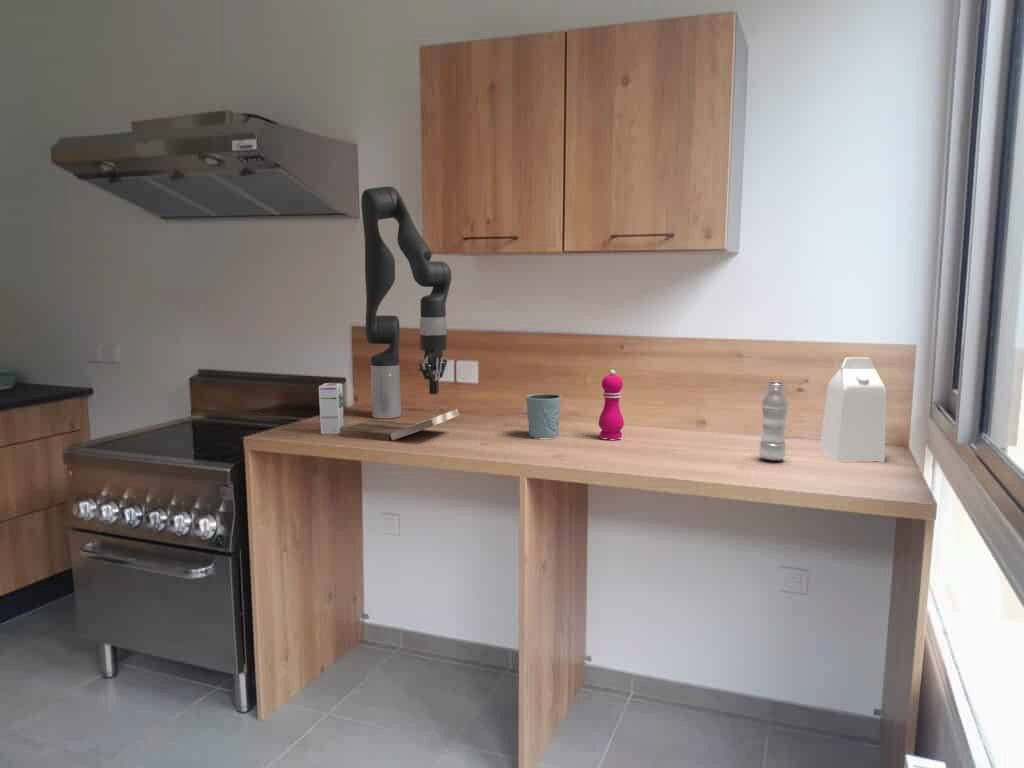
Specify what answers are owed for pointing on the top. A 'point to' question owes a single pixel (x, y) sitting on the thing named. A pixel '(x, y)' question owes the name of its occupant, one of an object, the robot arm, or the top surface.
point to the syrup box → (331, 408)
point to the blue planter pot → (543, 415)
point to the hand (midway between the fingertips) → (433, 393)
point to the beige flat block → (424, 424)
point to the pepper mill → (611, 407)
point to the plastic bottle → (774, 423)
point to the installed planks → (375, 429)
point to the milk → (855, 413)
